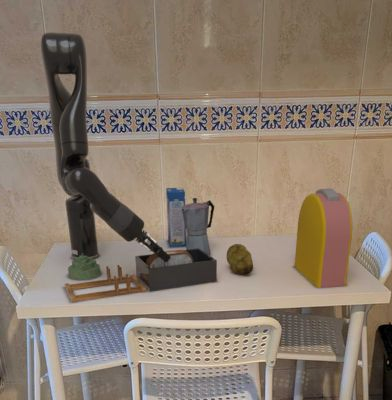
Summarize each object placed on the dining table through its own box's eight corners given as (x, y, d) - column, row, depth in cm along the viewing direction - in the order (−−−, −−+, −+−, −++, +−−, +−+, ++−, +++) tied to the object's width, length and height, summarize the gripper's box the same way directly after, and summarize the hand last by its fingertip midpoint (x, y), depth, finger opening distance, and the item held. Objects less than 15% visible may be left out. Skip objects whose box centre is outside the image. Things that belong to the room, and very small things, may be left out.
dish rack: (64, 287, 150) (62, 271, 148) (134, 277, 158) (133, 262, 155) (72, 302, 140) (69, 285, 137) (146, 291, 147) (145, 275, 144)
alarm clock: (346, 285, 149) (358, 194, 137) (317, 287, 148) (327, 196, 135) (319, 264, 167) (328, 182, 155) (293, 266, 166) (300, 183, 154)
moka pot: (173, 256, 177) (171, 199, 168) (203, 247, 187) (202, 192, 178) (193, 261, 172) (192, 202, 162) (222, 252, 182) (223, 195, 172)
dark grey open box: (136, 276, 158) (135, 255, 155) (199, 268, 165) (198, 248, 162) (150, 291, 146) (148, 269, 143) (216, 281, 153) (216, 260, 150)
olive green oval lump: (226, 277, 157) (227, 252, 153) (226, 265, 168) (226, 241, 164) (253, 277, 156) (254, 252, 153) (250, 265, 168) (251, 241, 164)
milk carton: (168, 240, 197) (166, 188, 188) (183, 239, 198) (182, 187, 188) (169, 247, 188) (167, 192, 179) (186, 246, 189) (184, 192, 180)
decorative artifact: (101, 278, 157) (99, 268, 166) (98, 256, 154) (97, 248, 163) (68, 281, 156) (69, 271, 164) (65, 259, 152) (66, 250, 161)
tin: (191, 273, 158) (191, 247, 154) (195, 276, 156) (194, 249, 152) (145, 279, 153) (144, 252, 150) (148, 282, 151) (147, 255, 147)
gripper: (139, 216, 136) (180, 252, 145) (126, 206, 148) (164, 240, 157) (121, 237, 137) (163, 272, 146) (110, 226, 148) (149, 259, 157)
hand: (163, 255), depth 151 cm, fingers open, 8 cm apart
